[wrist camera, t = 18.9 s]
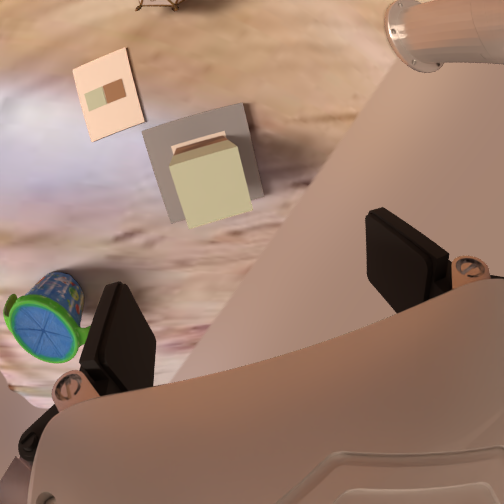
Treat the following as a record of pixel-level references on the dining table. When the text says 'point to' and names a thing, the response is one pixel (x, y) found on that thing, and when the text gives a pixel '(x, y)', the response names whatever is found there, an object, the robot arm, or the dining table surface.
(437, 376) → the robot arm
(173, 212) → the plate
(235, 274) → the dining table surface
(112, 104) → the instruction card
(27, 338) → the snack cup
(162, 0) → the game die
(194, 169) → the sage block
